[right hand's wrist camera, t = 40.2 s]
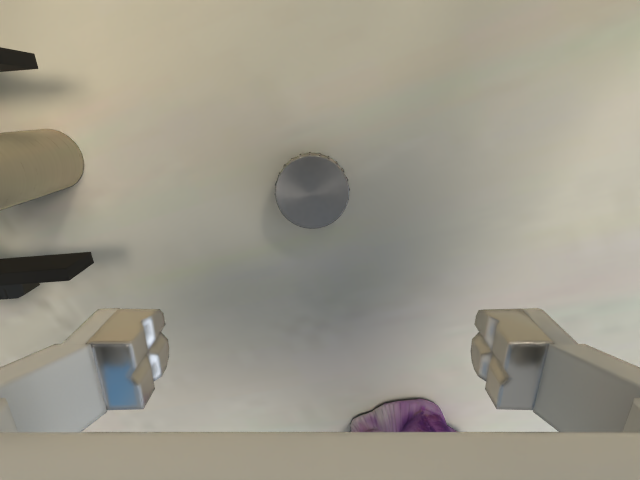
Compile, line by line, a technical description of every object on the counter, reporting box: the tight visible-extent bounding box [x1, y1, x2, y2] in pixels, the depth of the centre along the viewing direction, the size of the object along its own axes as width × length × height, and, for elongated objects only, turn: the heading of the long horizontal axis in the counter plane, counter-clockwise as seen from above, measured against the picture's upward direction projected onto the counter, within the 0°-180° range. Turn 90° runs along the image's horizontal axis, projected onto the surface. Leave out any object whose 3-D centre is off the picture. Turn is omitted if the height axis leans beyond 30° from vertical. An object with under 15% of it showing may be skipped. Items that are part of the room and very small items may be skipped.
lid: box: [275, 152, 350, 228], centre depth 28 cm, size 5×5×2 cm
